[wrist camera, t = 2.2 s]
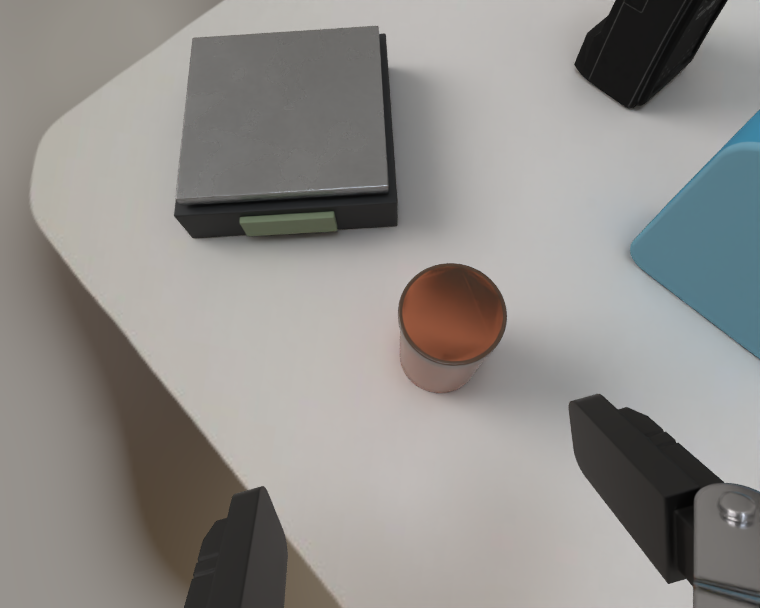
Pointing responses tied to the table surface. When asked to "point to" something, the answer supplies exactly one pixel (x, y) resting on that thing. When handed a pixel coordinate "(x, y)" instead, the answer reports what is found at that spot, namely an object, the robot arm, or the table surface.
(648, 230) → the data package
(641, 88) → the portable radio
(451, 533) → the table surface
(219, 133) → the scale pan
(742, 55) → the table surface
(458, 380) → the spice tin
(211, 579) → the robot arm
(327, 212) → the scale
